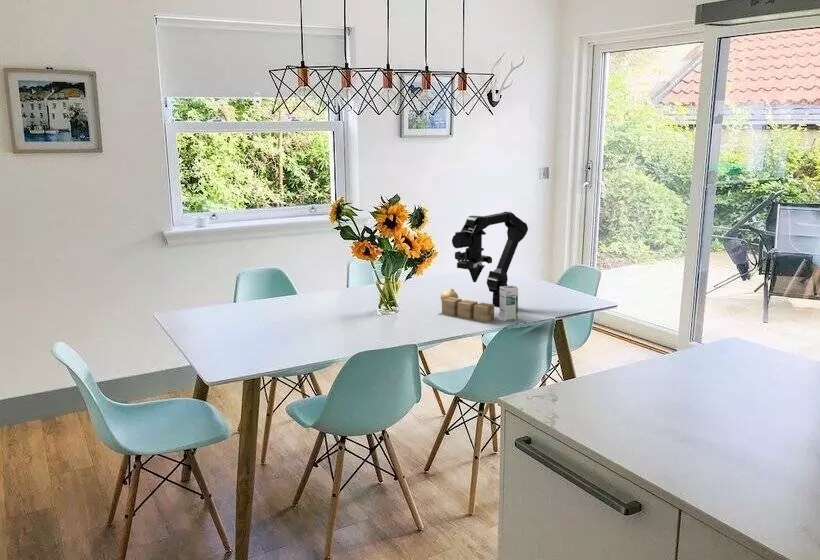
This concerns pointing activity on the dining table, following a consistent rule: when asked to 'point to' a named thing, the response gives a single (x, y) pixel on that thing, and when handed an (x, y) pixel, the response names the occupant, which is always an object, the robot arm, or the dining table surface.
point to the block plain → (466, 309)
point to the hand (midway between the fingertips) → (474, 282)
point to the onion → (449, 294)
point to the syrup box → (509, 303)
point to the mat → (466, 318)
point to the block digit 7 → (484, 312)
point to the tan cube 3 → (450, 306)
